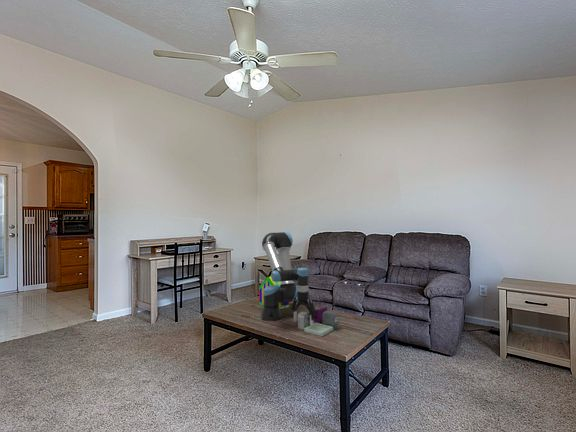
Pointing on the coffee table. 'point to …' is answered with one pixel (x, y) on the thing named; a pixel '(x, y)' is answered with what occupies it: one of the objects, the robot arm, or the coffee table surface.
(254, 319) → the coffee table surface
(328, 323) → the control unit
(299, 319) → the module
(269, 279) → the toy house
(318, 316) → the mounting bracket
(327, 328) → the tray
